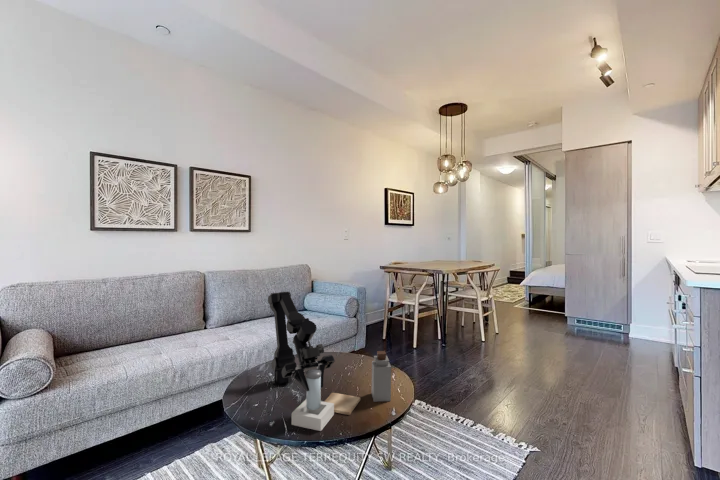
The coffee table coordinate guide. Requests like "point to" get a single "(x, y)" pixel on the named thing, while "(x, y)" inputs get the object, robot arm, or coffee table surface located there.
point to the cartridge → (313, 389)
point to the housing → (313, 416)
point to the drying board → (343, 402)
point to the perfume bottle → (381, 377)
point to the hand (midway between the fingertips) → (315, 389)
